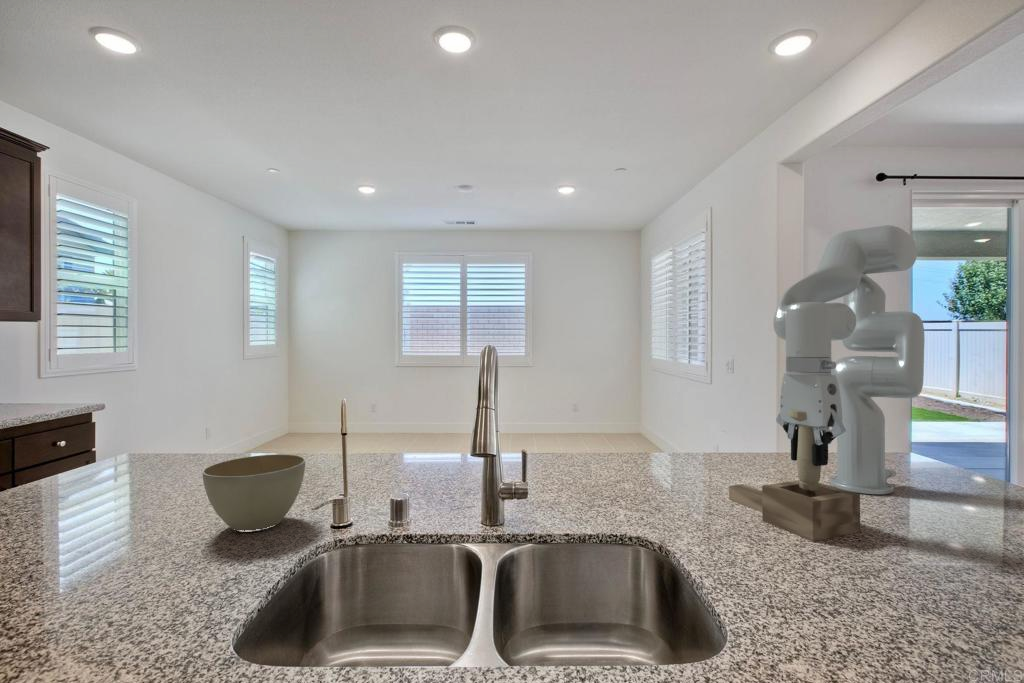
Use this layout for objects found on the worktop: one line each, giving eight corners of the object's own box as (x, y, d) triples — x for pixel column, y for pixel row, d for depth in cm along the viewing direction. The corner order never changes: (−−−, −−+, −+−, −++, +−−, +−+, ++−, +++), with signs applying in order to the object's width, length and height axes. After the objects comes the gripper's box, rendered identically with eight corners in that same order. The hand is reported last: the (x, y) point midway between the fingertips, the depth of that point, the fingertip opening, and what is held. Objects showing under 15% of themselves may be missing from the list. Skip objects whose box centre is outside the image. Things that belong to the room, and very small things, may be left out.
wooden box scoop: (756, 495, 115) (756, 464, 115) (860, 532, 93) (859, 494, 93) (714, 501, 111) (714, 469, 111) (812, 541, 89) (812, 501, 89)
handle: (833, 493, 93) (832, 412, 93) (796, 492, 94) (796, 412, 94) (820, 486, 98) (820, 409, 98) (785, 485, 99) (785, 408, 99)
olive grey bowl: (286, 504, 112) (285, 450, 112) (320, 525, 99) (320, 463, 99) (192, 525, 99) (191, 464, 99) (218, 552, 86) (217, 482, 86)
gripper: (865, 368, 89) (866, 471, 89) (785, 364, 105) (786, 452, 105) (835, 369, 87) (836, 475, 87) (758, 365, 103) (758, 455, 102)
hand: (809, 461), depth 96 cm, fingers closed on handle, 3 cm apart
